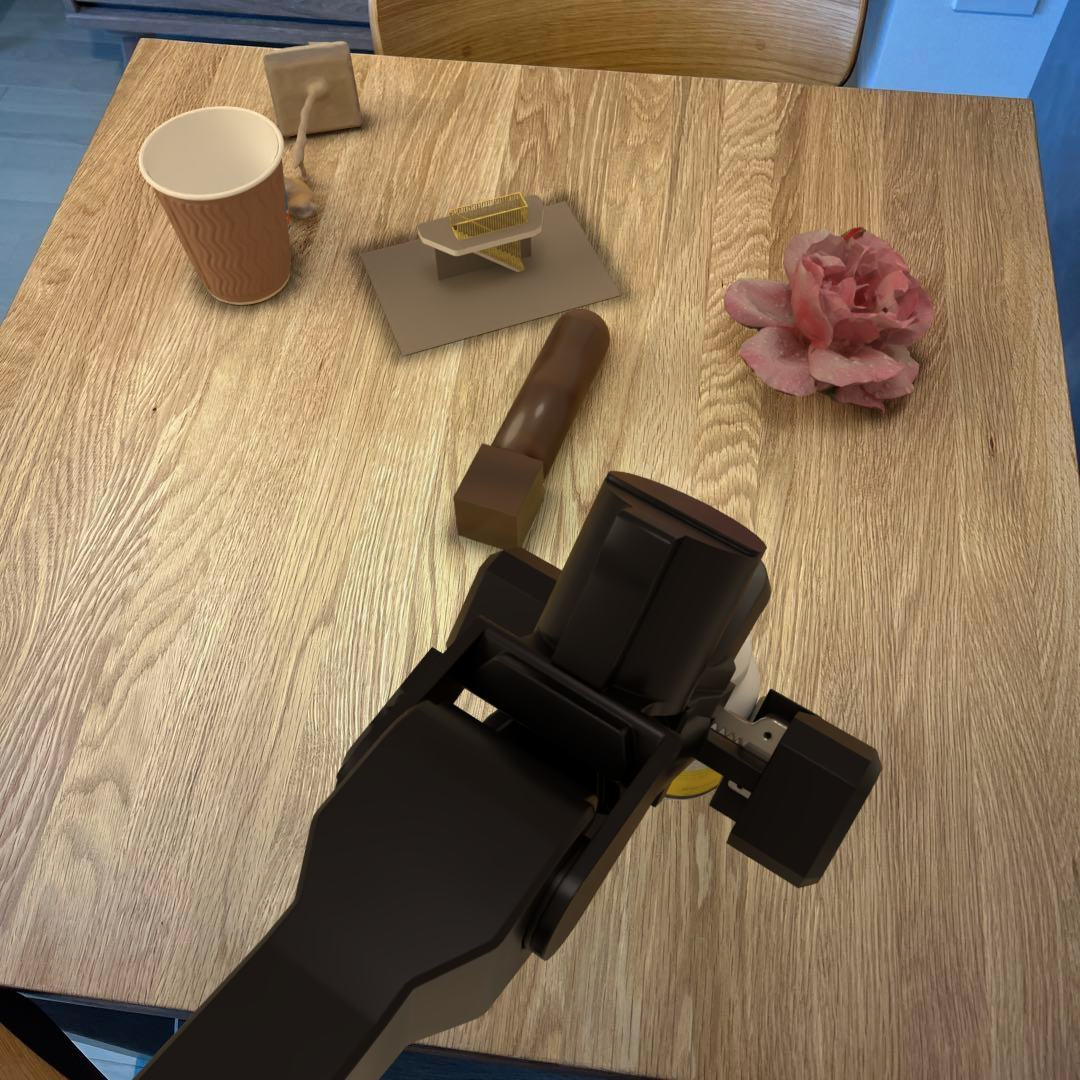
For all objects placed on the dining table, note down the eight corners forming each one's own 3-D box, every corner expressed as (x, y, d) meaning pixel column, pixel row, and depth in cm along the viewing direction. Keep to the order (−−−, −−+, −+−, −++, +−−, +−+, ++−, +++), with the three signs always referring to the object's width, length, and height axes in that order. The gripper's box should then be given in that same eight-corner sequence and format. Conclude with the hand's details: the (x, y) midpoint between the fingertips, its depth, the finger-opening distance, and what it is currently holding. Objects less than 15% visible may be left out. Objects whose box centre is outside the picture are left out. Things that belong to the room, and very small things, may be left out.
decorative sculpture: (318, 234, 94) (302, 160, 88) (206, 220, 95) (183, 146, 89) (369, 114, 103) (358, 39, 97) (266, 102, 104) (248, 28, 98)
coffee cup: (338, 263, 92) (313, 136, 82) (252, 340, 87) (214, 216, 77) (243, 215, 95) (208, 88, 85) (155, 287, 91) (107, 162, 81)
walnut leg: (517, 554, 76) (516, 516, 73) (457, 534, 77) (453, 496, 74) (616, 347, 87) (619, 305, 83) (562, 332, 88) (563, 289, 84)
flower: (753, 434, 78) (813, 316, 71) (693, 306, 88) (741, 191, 81) (935, 447, 83) (1008, 337, 76) (859, 324, 92) (918, 217, 86)
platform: (621, 295, 90) (625, 229, 84) (402, 355, 86) (392, 291, 81) (565, 201, 96) (566, 134, 91) (359, 254, 93) (348, 188, 87)
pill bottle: (620, 687, 63) (635, 573, 54) (737, 701, 63) (773, 588, 53) (609, 797, 60) (622, 696, 50) (733, 813, 59) (771, 714, 49)
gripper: (932, 693, 37) (961, 623, 51) (469, 441, 43) (611, 441, 57) (777, 963, 40) (845, 825, 54) (363, 692, 46) (523, 632, 60)
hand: (702, 671), depth 56 cm, fingers closed on pill bottle, 6 cm apart
